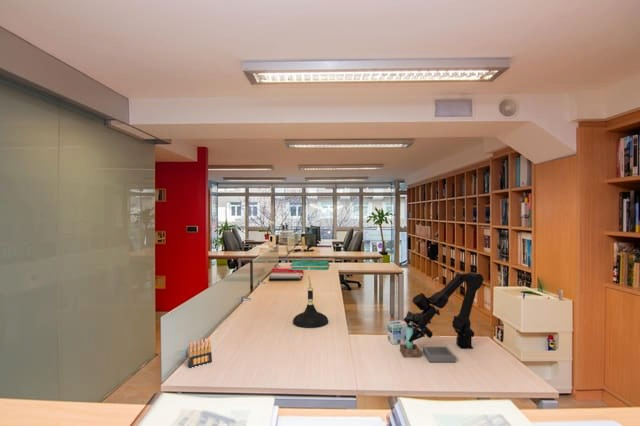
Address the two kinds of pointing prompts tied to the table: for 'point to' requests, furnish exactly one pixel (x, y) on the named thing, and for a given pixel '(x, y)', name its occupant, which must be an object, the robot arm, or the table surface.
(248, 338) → the table surface
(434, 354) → the tray
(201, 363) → the ammunition clip
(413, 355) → the socket block
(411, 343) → the dowel
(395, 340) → the light bulb box
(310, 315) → the banker's lamp
